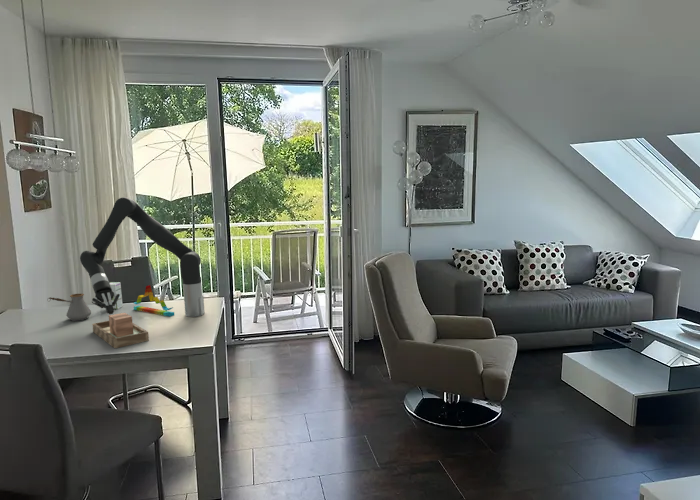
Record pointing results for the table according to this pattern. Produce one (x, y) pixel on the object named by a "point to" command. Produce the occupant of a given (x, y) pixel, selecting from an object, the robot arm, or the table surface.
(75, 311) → the coffee pot
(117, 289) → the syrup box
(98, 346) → the table surface
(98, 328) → the trough
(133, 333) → the pad
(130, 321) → the block
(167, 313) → the multicoloured triangular frame
